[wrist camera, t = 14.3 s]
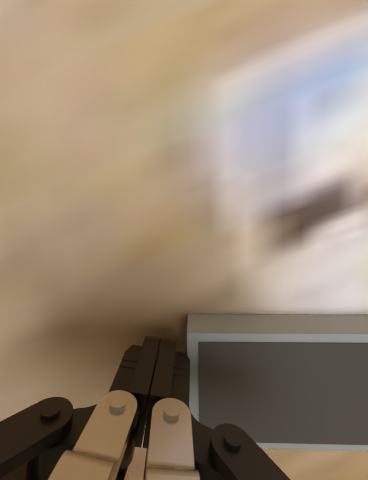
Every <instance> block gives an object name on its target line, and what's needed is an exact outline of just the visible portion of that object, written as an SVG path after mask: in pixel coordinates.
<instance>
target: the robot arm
mask: <svg viewBox="0 0 368 480" xmlns="http://www.w3.org/2000/svg"><path fill="white" fill-rule="evenodd" d="M160 339H161V338H157V337H150V336H145V339H144V342H143V345H142V346H135V345H132V346H131V347H130V348H129V349H128V350H126V351H125V353H124V356H123V358H122V361H121V363H120V366H119V368H118V371H117V373H116V376H115V378H114V381H113V383H112V386H111V388H110V390H109V393H107V394H105V395H104V396H103V397H102V398H101V399H100V400H99V402H98V404H96V405H94V406H90V407H86V408H78V409H73V406H72V404H71V402H70V401H69V400H67V399H65V398H62V397H51V398H47V399H44V400H42V401H40V402H38V403H36V404H34V405H32V406H30V407H28V408H26V409H24V410H22V411H20V412H18V413H16V414H14V415H12V416H11V417H9V418H7V419H5V420H3V421H1V422H0V480H126V479H127V475H128V472H129V468H130V463H131V461H132V458H133V454H134V449H135V447H141V445H142V440H143V435H144V430H145V435H144V442H143V448H147V452H146V460H145V467H144V475H143V480H290V479H289V478H288V477H287V476H286V475H285V474H284V472H283V471H282V470H281V469H280V468H279V467H278V466H277V465H276V464H275V463H274V462H273V461H272V460H271V459H270V458H269V456H268V455H267V454H266V453H265V452H264V451H263V450H262V449H261V448H260V447H259V446H258V445H257V444H256V443H255V442H254V441H253V439H252V438H251V437H250V436H249V435H248V434H247V433H246V432H245V431H244V430H243V429H241V428H240V427H238V426H236V425H233V424H228V423H224V424H220V425H218V426H216V427H215V428H214V429H211V428H209V427H207V426H205V425H203V424H201V423H200V422H198V421H197V420H196V419H195V418H194V416H193V415H192V413H191V411H190V408H189V393H190V359H189V358H188V356H187V354H186V353H182V352H175V350H176V341H177V340H171V339H164V338H162V339H161V344H160ZM159 347H160V349H159ZM145 425H146V427H145Z"/></svg>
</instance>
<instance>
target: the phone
mask: <svg viewBox="0 0 368 480" xmlns="http://www.w3.org/2000/svg"><path fill="white" fill-rule="evenodd" d="M187 356H188V358H189V359H190V393H189V408H190V411H191V413H192V415H193V416H194V418H195V419H196V420H197V421H198V422H200V423H201V424H203V425H205V426H207V427H209V428H211V429H214V428H215V427H216V426H218V425H220V424H224V423H228V424H233V425H236V426H238V427H240V428H241V429H243V430H244V431H245V432H246V433H247V434H248V435H249V436H250V437H251V438H252V439H253V441H254V442H255V443H256V444H257V445H258V446H259V447H260V448H262V449H305V450H348V451H368V315H322V314H188V322H187Z"/></svg>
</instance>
